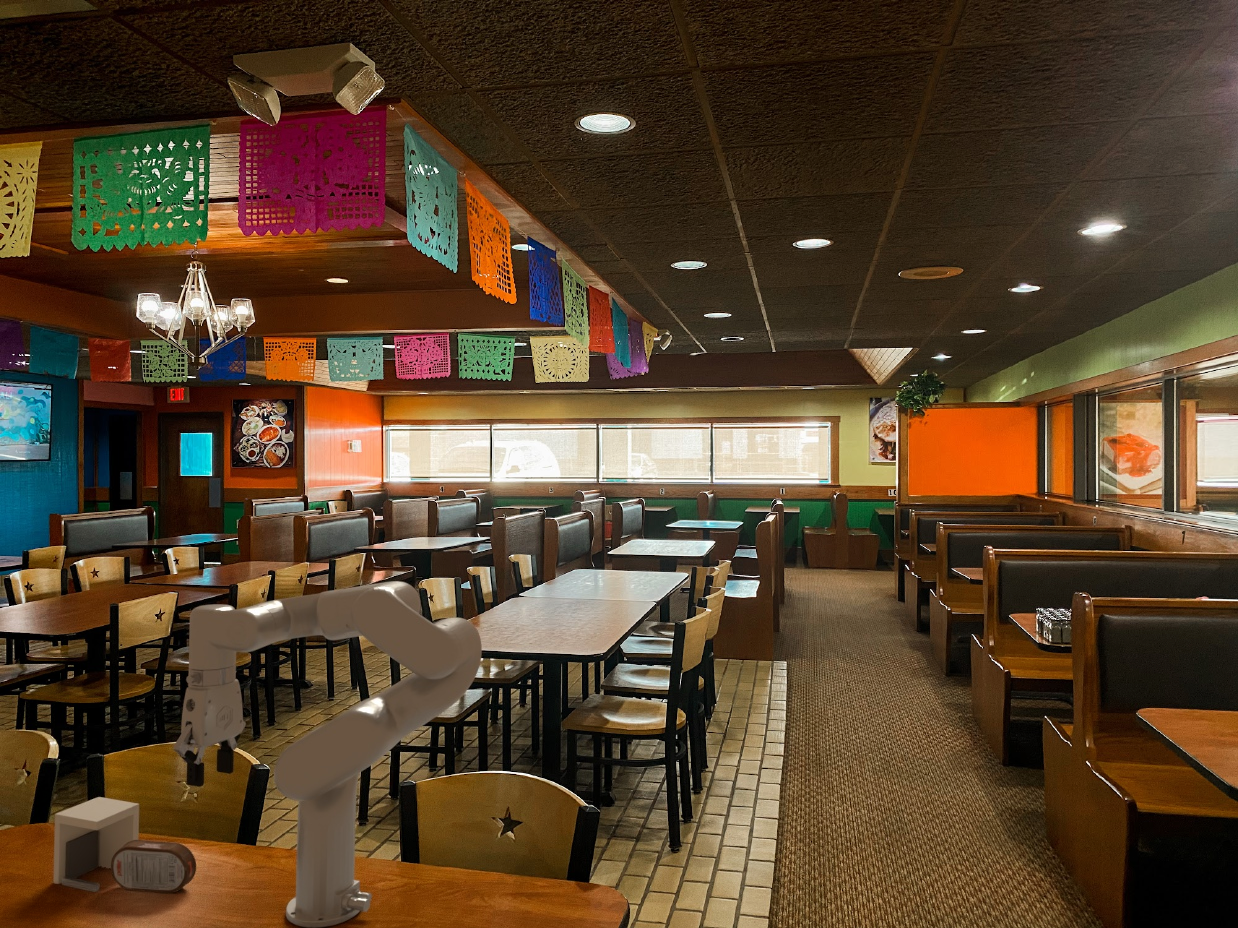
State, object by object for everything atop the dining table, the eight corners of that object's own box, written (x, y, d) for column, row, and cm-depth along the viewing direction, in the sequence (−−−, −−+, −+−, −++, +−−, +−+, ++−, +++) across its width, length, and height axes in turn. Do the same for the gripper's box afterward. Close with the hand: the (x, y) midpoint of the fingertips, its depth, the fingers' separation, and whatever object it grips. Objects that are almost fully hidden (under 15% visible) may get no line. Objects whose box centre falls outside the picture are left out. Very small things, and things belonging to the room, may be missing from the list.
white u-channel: (137, 870, 163) (139, 803, 163) (95, 891, 155) (96, 821, 155) (97, 861, 166) (98, 796, 167) (53, 882, 158) (55, 813, 158)
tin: (196, 888, 157) (197, 841, 157) (186, 896, 154) (187, 848, 154) (118, 882, 158) (119, 836, 158) (107, 891, 155) (108, 843, 155)
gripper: (190, 689, 143) (188, 798, 143) (264, 667, 160) (262, 765, 159) (155, 685, 146) (153, 792, 145) (231, 664, 162) (229, 760, 162)
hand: (210, 777), depth 152 cm, fingers open, 6 cm apart
